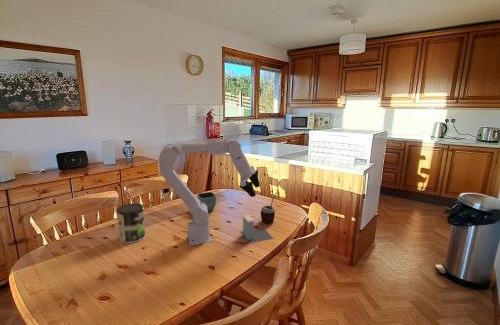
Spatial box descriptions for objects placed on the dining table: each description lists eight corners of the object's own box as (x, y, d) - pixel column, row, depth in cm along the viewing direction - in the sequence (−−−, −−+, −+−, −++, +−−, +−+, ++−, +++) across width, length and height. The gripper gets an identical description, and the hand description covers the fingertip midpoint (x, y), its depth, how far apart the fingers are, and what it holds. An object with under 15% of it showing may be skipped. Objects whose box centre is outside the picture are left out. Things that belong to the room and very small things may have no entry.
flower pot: (197, 208, 146) (196, 193, 144) (212, 206, 150) (211, 191, 148) (201, 214, 139) (200, 198, 137) (216, 211, 142) (216, 196, 140)
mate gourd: (259, 224, 128) (260, 196, 125) (262, 218, 136) (263, 190, 132) (274, 226, 126) (275, 197, 123) (276, 219, 134) (277, 192, 131)
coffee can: (150, 233, 118) (148, 204, 115) (136, 244, 108) (133, 213, 105) (130, 230, 120) (127, 202, 117) (114, 241, 110) (111, 211, 107)
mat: (248, 244, 110) (248, 243, 110) (239, 232, 120) (239, 231, 120) (273, 239, 114) (273, 238, 114) (263, 228, 124) (263, 227, 124)
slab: (247, 240, 112) (247, 221, 110) (242, 233, 118) (243, 215, 116) (253, 239, 113) (254, 220, 111) (248, 232, 119) (249, 214, 117)
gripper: (245, 170, 102) (259, 198, 106) (254, 155, 114) (267, 180, 118) (230, 175, 105) (245, 202, 109) (241, 159, 117) (254, 184, 121)
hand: (255, 191), depth 114 cm, fingers open, 7 cm apart
